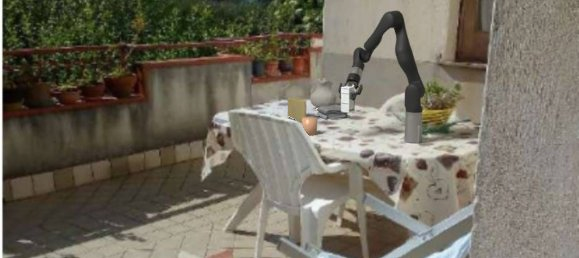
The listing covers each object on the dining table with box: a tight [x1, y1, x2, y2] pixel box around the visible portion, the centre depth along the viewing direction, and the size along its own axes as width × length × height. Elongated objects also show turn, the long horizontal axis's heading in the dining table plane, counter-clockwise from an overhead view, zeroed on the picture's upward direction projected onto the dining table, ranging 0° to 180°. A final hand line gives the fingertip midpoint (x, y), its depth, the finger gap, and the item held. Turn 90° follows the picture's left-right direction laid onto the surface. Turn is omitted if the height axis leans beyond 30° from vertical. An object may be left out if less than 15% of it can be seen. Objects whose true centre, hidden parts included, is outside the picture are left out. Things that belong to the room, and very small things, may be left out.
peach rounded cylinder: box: [301, 116, 318, 137], centre depth 344 cm, size 9×9×10 cm
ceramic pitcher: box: [309, 75, 337, 109], centre depth 429 cm, size 22×20×25 cm
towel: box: [316, 104, 349, 120], centre depth 399 cm, size 15×18×8 cm
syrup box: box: [340, 86, 356, 114], centre depth 330 cm, size 6×6×14 cm
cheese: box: [287, 96, 307, 123], centre depth 386 cm, size 22×10×15 cm, turn 19°
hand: (346, 99), depth 329 cm, fingers closed on syrup box, 7 cm apart
